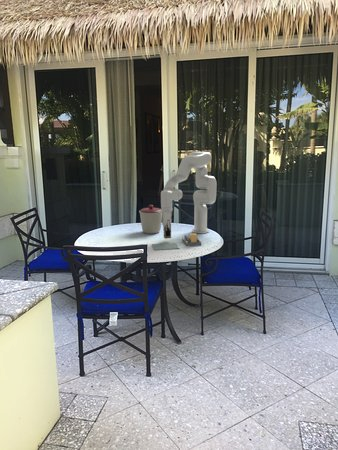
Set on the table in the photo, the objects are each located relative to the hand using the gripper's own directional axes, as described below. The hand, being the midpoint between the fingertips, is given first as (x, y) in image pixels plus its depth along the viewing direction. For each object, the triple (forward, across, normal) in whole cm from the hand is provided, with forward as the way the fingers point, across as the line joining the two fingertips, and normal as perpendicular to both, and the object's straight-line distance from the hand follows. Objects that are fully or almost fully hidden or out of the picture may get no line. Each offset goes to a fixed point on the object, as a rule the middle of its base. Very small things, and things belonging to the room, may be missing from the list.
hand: (167, 234), depth 246 cm
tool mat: (+4, +14, -4) cm, 15 cm away
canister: (+5, -28, -8) cm, 30 cm away
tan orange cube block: (+3, +11, +15) cm, 19 cm away
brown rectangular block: (+2, 0, 0) cm, 2 cm away
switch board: (+5, +6, +15) cm, 17 cm away
